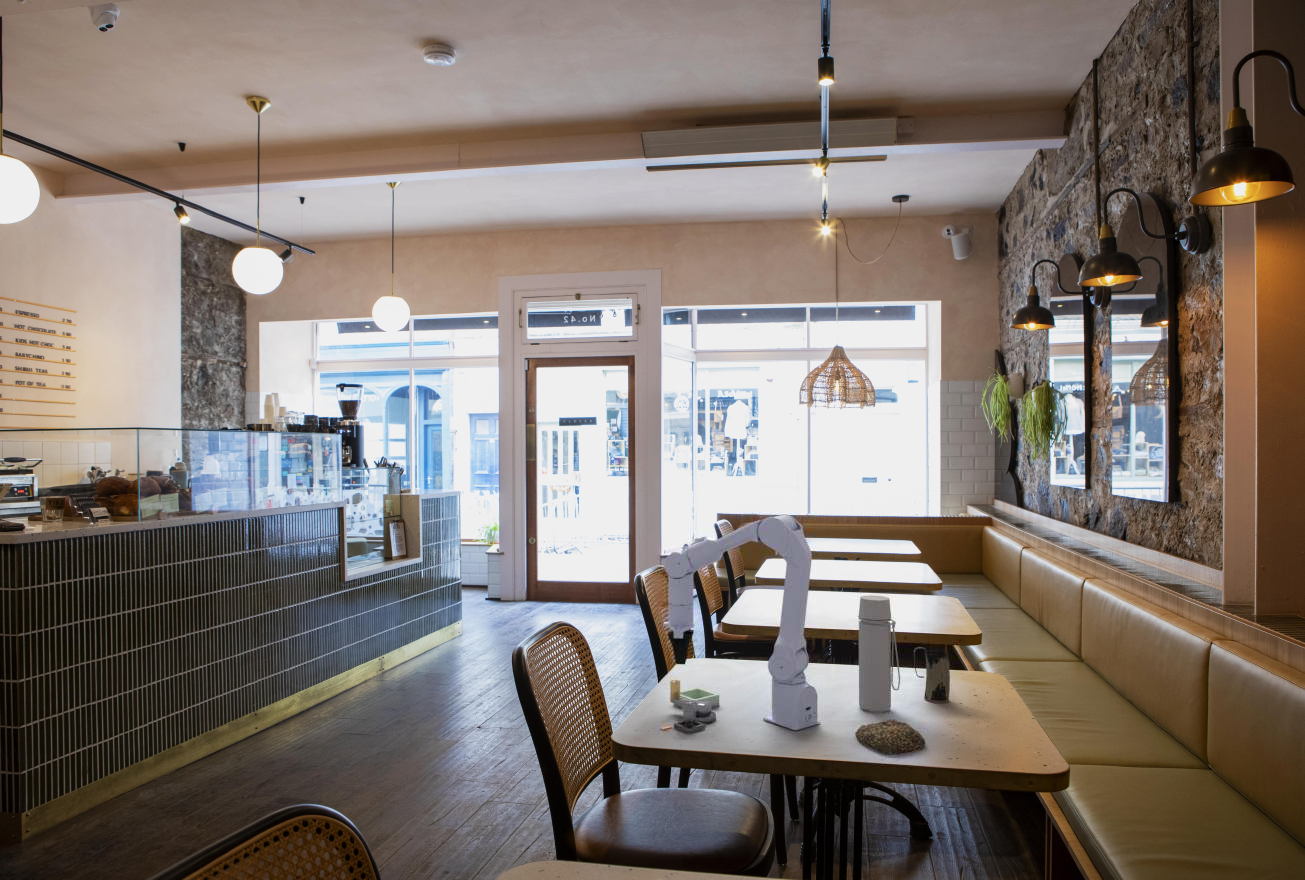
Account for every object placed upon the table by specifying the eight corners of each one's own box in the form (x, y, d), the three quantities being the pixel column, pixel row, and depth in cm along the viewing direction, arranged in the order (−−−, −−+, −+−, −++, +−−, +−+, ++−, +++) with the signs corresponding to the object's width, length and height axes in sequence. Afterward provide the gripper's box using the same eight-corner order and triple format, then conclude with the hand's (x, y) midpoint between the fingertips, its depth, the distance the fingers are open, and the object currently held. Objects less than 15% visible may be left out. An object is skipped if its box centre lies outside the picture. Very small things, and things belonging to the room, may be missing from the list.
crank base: (730, 722, 181) (730, 717, 181) (678, 736, 172) (678, 731, 172) (701, 711, 188) (701, 707, 188) (650, 724, 179) (650, 720, 179)
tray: (719, 705, 192) (719, 694, 193) (694, 711, 188) (694, 700, 188) (697, 698, 198) (697, 687, 198) (673, 703, 194) (673, 693, 194)
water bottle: (854, 711, 188) (853, 599, 189) (862, 701, 195) (862, 593, 196) (896, 717, 184) (895, 602, 184) (903, 707, 191) (903, 596, 191)
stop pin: (698, 728, 176) (698, 702, 176) (688, 731, 175) (688, 704, 175) (689, 725, 178) (689, 699, 178) (680, 728, 177) (680, 701, 177)
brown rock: (879, 758, 160) (879, 732, 161) (847, 737, 172) (847, 712, 172) (938, 752, 164) (938, 726, 164) (903, 731, 176) (902, 707, 176)
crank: (716, 712, 183) (716, 686, 183) (701, 717, 180) (701, 691, 180) (678, 702, 190) (678, 678, 190) (664, 707, 187) (664, 682, 187)
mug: (948, 697, 199) (948, 646, 199) (951, 704, 194) (951, 651, 194) (913, 695, 201) (913, 644, 201) (915, 701, 196) (914, 649, 196)
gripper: (666, 597, 201) (666, 654, 201) (660, 609, 187) (660, 670, 187) (696, 598, 201) (696, 655, 200) (692, 609, 186) (692, 671, 186)
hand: (680, 663), depth 194 cm, fingers closed
